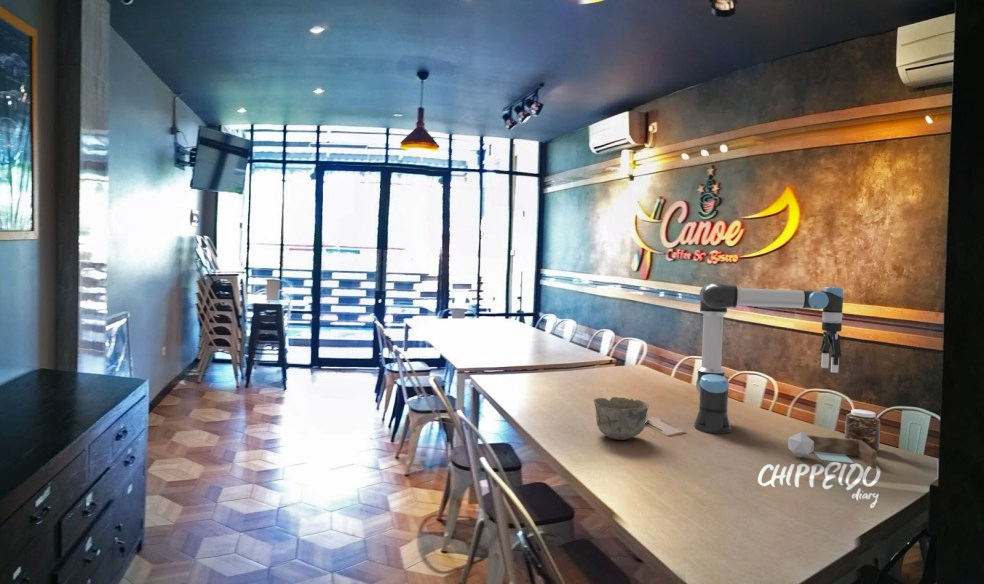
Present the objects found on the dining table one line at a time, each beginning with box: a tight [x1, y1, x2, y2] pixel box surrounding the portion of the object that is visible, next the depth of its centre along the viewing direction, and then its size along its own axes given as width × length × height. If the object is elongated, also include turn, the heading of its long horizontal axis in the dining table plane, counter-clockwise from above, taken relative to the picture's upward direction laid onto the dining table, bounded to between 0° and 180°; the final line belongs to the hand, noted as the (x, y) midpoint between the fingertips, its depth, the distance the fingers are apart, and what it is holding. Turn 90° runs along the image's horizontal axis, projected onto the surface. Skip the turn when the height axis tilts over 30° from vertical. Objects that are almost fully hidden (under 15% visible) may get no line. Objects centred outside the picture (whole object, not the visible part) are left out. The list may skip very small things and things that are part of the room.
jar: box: [844, 408, 881, 453], centre depth 237 cm, size 12×12×15 cm
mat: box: [812, 451, 855, 465], centre depth 223 cm, size 11×11×1 cm
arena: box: [805, 434, 878, 469], centre depth 222 cm, size 20×16×6 cm
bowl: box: [593, 396, 649, 441], centre depth 240 cm, size 22×22×15 cm
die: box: [787, 431, 814, 459], centre depth 222 cm, size 8×9×10 cm
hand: (829, 370), depth 259 cm, fingers open, 13 cm apart
